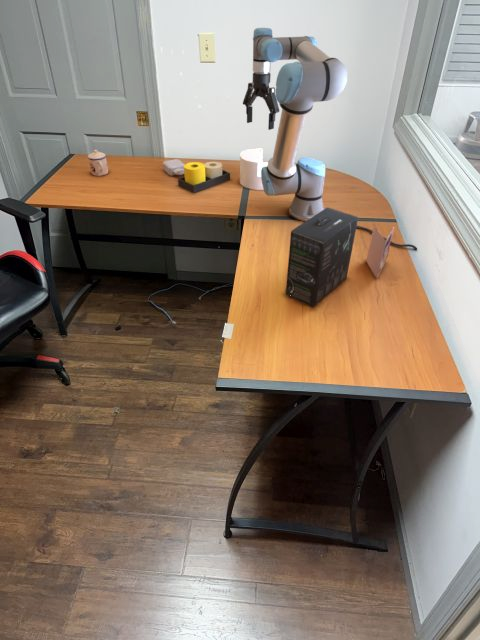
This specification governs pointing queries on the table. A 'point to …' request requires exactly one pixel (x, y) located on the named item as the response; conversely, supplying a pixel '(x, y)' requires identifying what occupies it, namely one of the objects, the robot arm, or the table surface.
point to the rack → (206, 184)
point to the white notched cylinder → (252, 168)
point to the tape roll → (194, 173)
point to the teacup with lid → (98, 163)
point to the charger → (174, 167)
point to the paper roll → (213, 169)
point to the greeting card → (378, 251)
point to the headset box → (320, 255)
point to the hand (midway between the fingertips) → (260, 125)
